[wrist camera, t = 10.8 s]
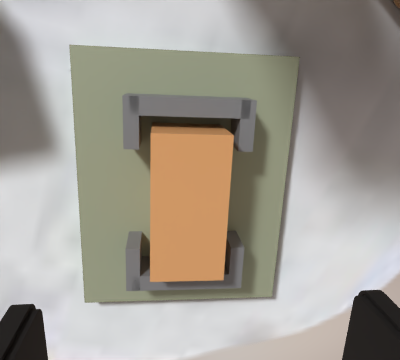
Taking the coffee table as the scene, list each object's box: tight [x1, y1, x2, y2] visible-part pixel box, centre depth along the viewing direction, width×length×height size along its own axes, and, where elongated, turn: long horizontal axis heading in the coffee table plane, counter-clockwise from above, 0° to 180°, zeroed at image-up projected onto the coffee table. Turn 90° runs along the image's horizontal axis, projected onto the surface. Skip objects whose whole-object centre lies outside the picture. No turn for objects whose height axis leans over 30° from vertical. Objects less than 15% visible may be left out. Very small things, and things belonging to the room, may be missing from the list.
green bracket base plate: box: [69, 45, 300, 303], centre depth 26 cm, size 20×16×4 cm
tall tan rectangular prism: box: [150, 122, 234, 282], centre depth 25 cm, size 10×5×5 cm, turn 178°
